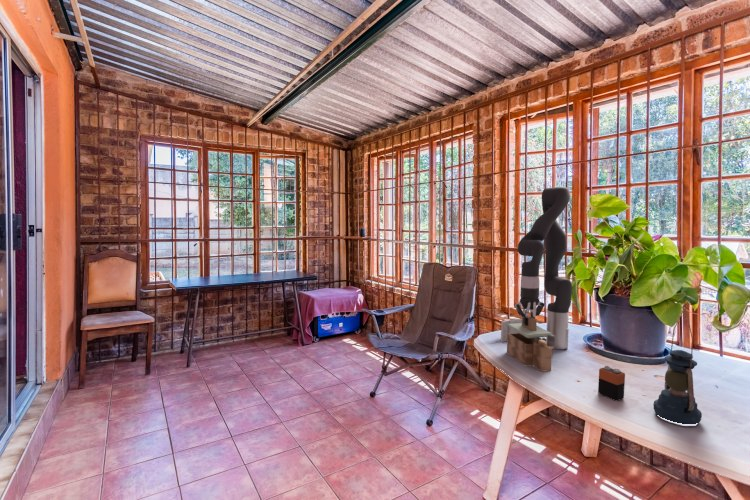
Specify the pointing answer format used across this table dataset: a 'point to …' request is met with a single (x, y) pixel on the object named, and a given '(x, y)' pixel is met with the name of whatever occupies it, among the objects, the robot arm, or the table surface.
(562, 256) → the robot arm
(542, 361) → the toolbox
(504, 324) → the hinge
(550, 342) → the bolt
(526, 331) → the lid
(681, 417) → the lantern
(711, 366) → the table surface
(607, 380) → the battery
